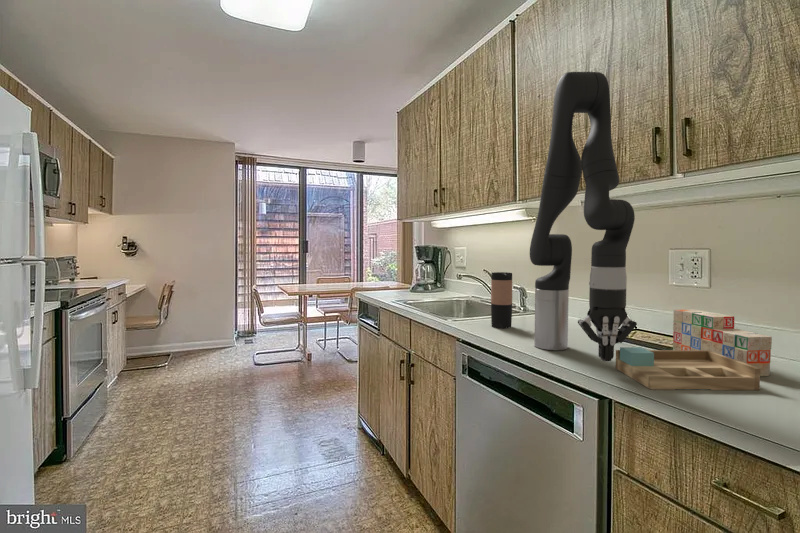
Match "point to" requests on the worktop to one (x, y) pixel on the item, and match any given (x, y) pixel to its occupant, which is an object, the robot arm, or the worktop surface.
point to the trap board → (693, 371)
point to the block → (636, 356)
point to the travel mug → (501, 300)
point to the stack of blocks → (720, 338)
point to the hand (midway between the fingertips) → (606, 360)
